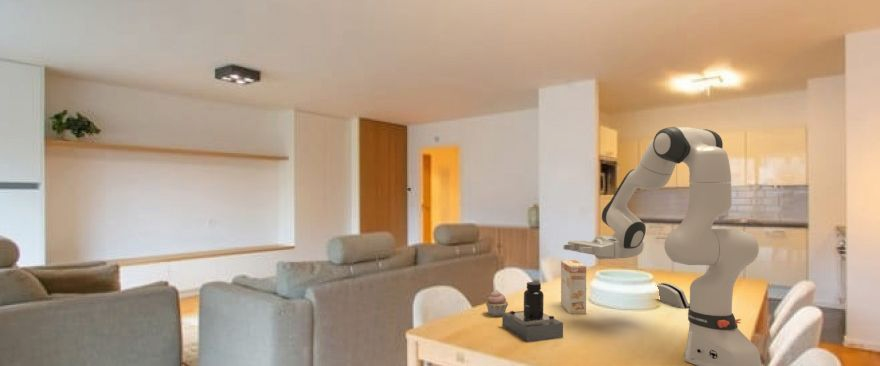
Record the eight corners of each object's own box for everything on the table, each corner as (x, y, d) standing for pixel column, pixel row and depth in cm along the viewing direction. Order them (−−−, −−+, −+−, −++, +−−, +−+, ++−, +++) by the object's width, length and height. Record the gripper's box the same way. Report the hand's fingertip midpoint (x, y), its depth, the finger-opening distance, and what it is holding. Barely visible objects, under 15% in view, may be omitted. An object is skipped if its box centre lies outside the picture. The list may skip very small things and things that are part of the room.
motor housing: (563, 337, 162) (563, 318, 162) (526, 342, 157) (526, 322, 157) (531, 320, 181) (531, 304, 181) (498, 324, 177) (498, 307, 177)
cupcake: (509, 312, 193) (509, 288, 193) (506, 318, 184) (506, 293, 184) (487, 310, 196) (487, 286, 196) (483, 317, 187) (483, 291, 187)
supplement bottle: (521, 318, 165) (521, 284, 165) (527, 313, 171) (526, 280, 171) (540, 321, 162) (540, 286, 162) (545, 316, 168) (545, 282, 168)
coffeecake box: (586, 314, 191) (586, 265, 191) (569, 314, 191) (569, 265, 191) (576, 304, 206) (576, 259, 206) (560, 304, 206) (560, 259, 206)
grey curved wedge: (692, 308, 200) (685, 286, 199) (683, 312, 199) (676, 290, 198) (666, 298, 216) (659, 278, 215) (657, 302, 215) (650, 282, 215)
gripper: (586, 236, 188) (555, 237, 183) (621, 241, 168) (589, 242, 164) (586, 252, 188) (556, 253, 183) (621, 259, 168) (589, 261, 164)
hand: (571, 248), depth 173 cm, fingers open, 8 cm apart
